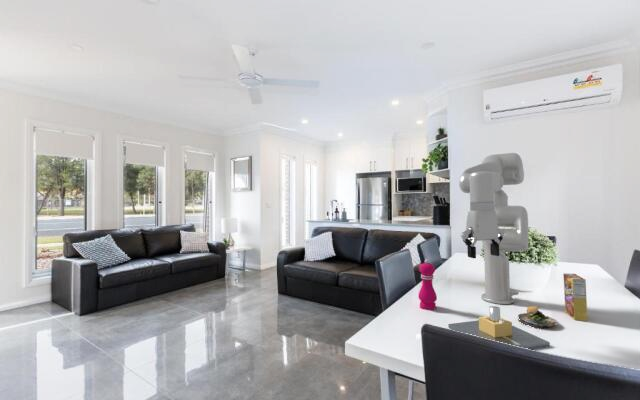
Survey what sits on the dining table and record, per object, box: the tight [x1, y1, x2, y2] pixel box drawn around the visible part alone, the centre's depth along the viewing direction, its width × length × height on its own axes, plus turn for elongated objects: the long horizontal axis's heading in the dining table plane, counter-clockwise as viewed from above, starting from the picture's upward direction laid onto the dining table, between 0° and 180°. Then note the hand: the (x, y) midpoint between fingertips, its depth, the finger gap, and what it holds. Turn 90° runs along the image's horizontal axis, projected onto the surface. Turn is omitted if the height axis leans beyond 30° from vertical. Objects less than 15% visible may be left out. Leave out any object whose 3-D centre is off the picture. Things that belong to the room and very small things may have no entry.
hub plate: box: [448, 305, 551, 350], centre depth 98 cm, size 20×20×9 cm
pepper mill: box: [417, 258, 437, 311], centre depth 126 cm, size 7×7×20 cm
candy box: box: [563, 273, 588, 322], centre depth 114 cm, size 9×4×15 cm, turn 158°
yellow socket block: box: [478, 315, 513, 337], centre depth 98 cm, size 7×7×5 cm
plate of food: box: [517, 303, 559, 330], centre depth 108 cm, size 12×12×8 cm
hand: (483, 256), depth 105 cm, fingers open, 9 cm apart
